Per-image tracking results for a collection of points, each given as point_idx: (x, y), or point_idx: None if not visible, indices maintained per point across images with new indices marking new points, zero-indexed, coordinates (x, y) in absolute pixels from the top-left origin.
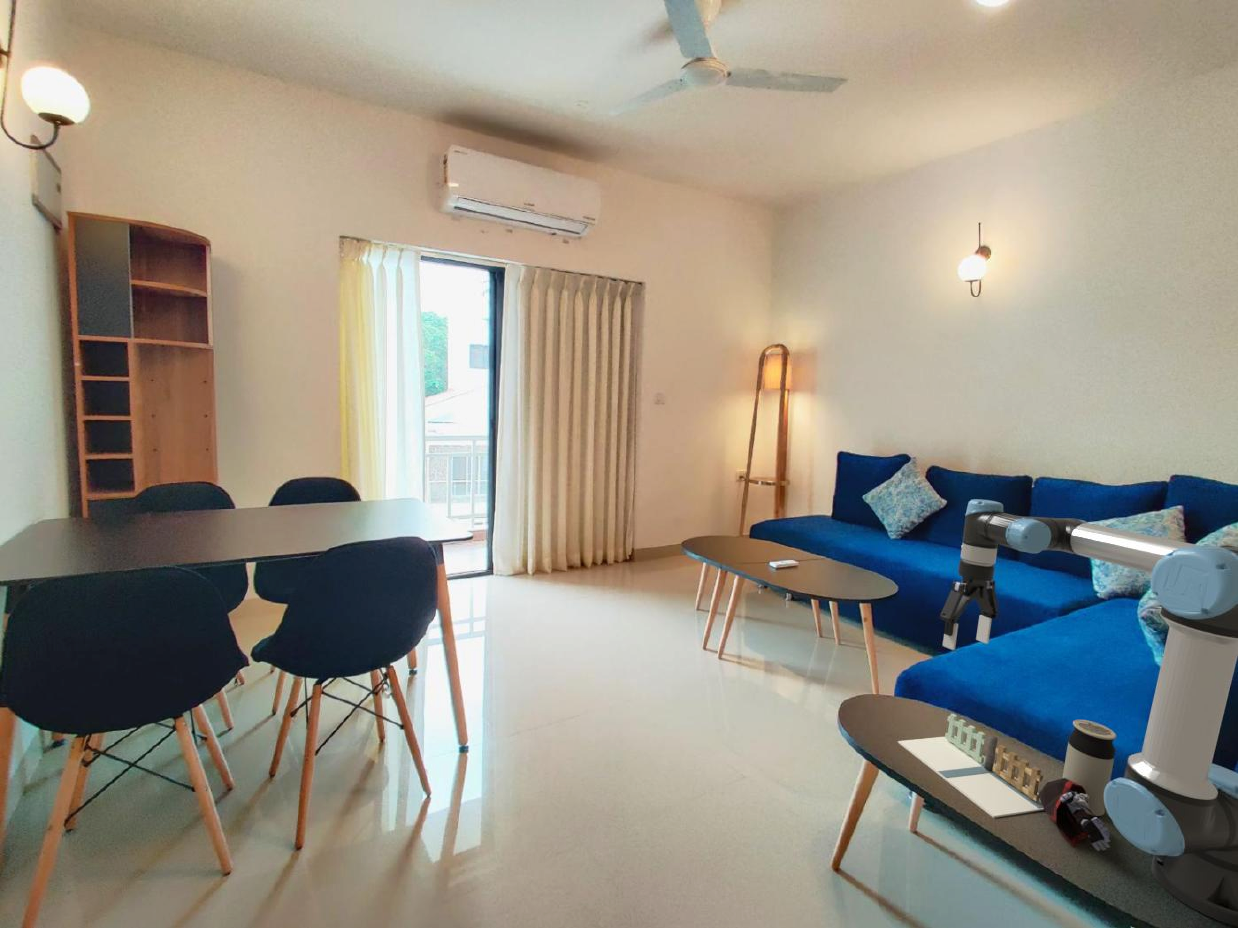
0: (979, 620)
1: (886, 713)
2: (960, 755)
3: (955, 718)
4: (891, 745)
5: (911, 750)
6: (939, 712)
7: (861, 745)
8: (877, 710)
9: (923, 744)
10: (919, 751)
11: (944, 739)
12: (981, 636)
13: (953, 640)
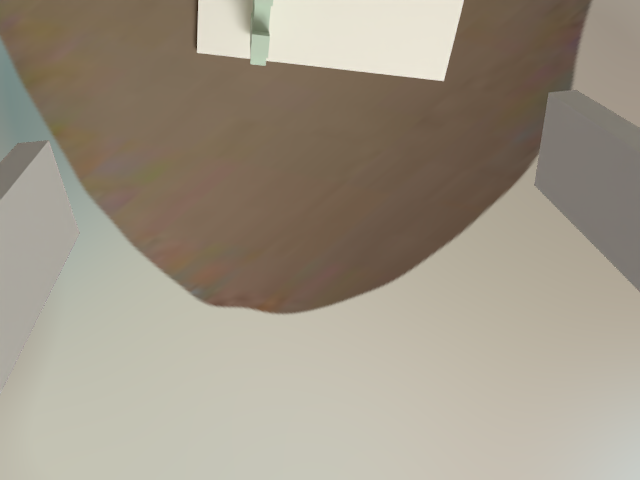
0: (10, 359)
1: (316, 226)
2: None
3: (259, 33)
4: (478, 71)
5: (453, 20)
6: (108, 194)
7: None
8: (331, 246)
9: (373, 39)
10: (430, 7)
11: None
12: (50, 217)
13: (627, 126)
